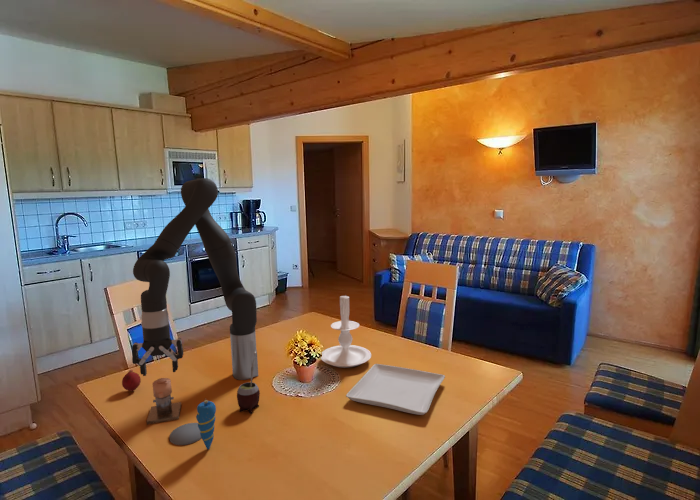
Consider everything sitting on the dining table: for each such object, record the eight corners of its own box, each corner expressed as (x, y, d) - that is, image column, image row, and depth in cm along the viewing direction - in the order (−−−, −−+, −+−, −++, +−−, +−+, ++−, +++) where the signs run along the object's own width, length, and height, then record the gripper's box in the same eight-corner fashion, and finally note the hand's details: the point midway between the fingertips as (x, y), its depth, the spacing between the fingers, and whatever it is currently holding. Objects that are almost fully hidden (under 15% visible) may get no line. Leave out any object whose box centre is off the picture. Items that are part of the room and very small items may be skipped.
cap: (172, 387, 135) (171, 374, 134) (170, 397, 129) (169, 383, 128) (155, 390, 133) (154, 376, 133) (152, 400, 127) (150, 386, 126)
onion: (133, 396, 144) (131, 374, 143) (119, 394, 145) (116, 373, 144) (145, 387, 150) (142, 367, 148) (131, 386, 151) (128, 365, 149)
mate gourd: (240, 417, 130) (237, 372, 127) (235, 405, 137) (232, 362, 134) (264, 410, 133) (261, 366, 131) (257, 399, 140) (255, 357, 138)
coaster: (206, 422, 127) (206, 420, 127) (205, 441, 118) (205, 439, 118) (171, 428, 124) (171, 426, 124) (167, 448, 115) (167, 446, 115)
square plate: (445, 383, 149) (445, 373, 149) (426, 424, 125) (426, 412, 124) (375, 370, 160) (375, 361, 160) (344, 405, 136) (344, 394, 135)
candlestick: (370, 348, 182) (370, 285, 177) (371, 373, 157) (371, 302, 153) (323, 348, 182) (322, 286, 178) (317, 373, 158) (315, 302, 153)
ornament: (202, 443, 117) (197, 394, 114) (220, 442, 117) (216, 392, 115) (196, 455, 112) (192, 403, 109) (216, 454, 112) (212, 402, 110)
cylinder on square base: (181, 404, 138) (179, 384, 137) (178, 419, 129) (176, 398, 128) (151, 409, 135) (149, 389, 134) (146, 424, 127) (144, 403, 125)
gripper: (181, 317, 133) (185, 365, 135) (132, 321, 129) (137, 371, 132) (179, 324, 126) (183, 375, 128) (127, 329, 122) (132, 381, 124)
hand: (159, 373), depth 130 cm, fingers open, 8 cm apart
